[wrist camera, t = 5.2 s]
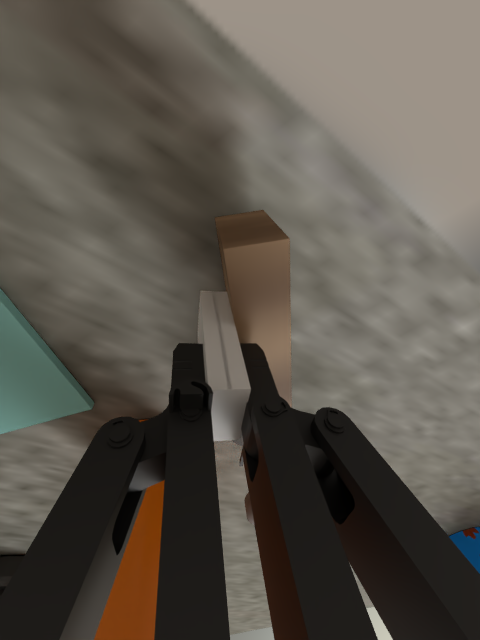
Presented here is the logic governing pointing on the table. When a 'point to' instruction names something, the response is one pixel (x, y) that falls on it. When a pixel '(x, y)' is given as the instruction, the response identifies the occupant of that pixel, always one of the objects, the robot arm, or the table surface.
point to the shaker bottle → (137, 576)
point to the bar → (259, 291)
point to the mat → (32, 376)
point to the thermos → (469, 545)
